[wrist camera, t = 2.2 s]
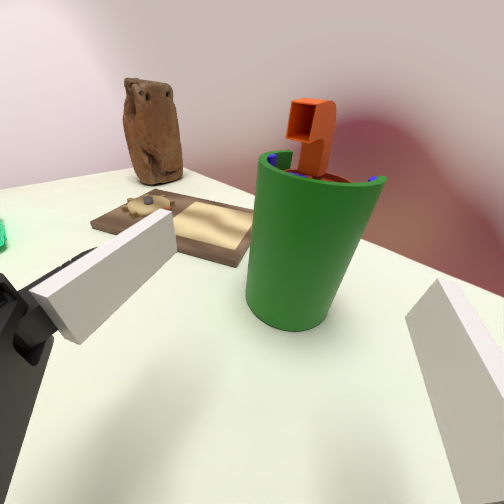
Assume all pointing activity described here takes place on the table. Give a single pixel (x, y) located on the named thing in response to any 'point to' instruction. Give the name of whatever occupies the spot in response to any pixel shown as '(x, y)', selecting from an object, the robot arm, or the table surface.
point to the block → (152, 131)
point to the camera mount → (2, 234)
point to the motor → (304, 224)
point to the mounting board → (189, 224)
